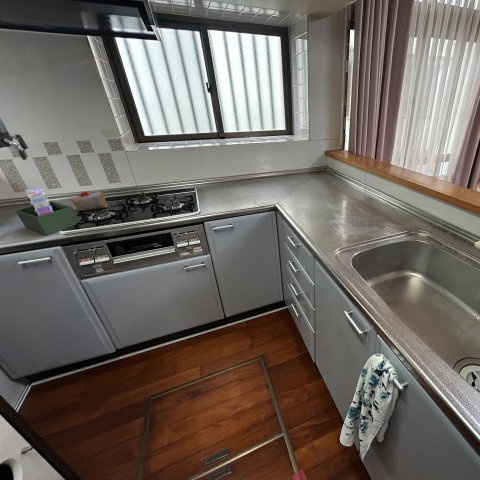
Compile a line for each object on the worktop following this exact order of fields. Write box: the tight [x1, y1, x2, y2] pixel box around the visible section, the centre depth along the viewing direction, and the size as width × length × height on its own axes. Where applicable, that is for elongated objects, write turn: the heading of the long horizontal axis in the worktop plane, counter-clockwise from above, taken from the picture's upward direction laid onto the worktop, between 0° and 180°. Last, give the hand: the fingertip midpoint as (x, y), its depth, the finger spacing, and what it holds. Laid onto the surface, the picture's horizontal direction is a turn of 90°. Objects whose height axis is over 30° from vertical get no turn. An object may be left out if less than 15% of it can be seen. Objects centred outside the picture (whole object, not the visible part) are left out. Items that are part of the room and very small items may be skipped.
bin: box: [14, 200, 81, 237], centre depth 128 cm, size 20×14×9 cm
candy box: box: [23, 187, 54, 217], centre depth 125 cm, size 14×6×16 cm, turn 47°
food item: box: [70, 190, 108, 213], centre depth 145 cm, size 14×8×10 cm, turn 115°
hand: (11, 161), depth 116 cm, fingers open, 8 cm apart
